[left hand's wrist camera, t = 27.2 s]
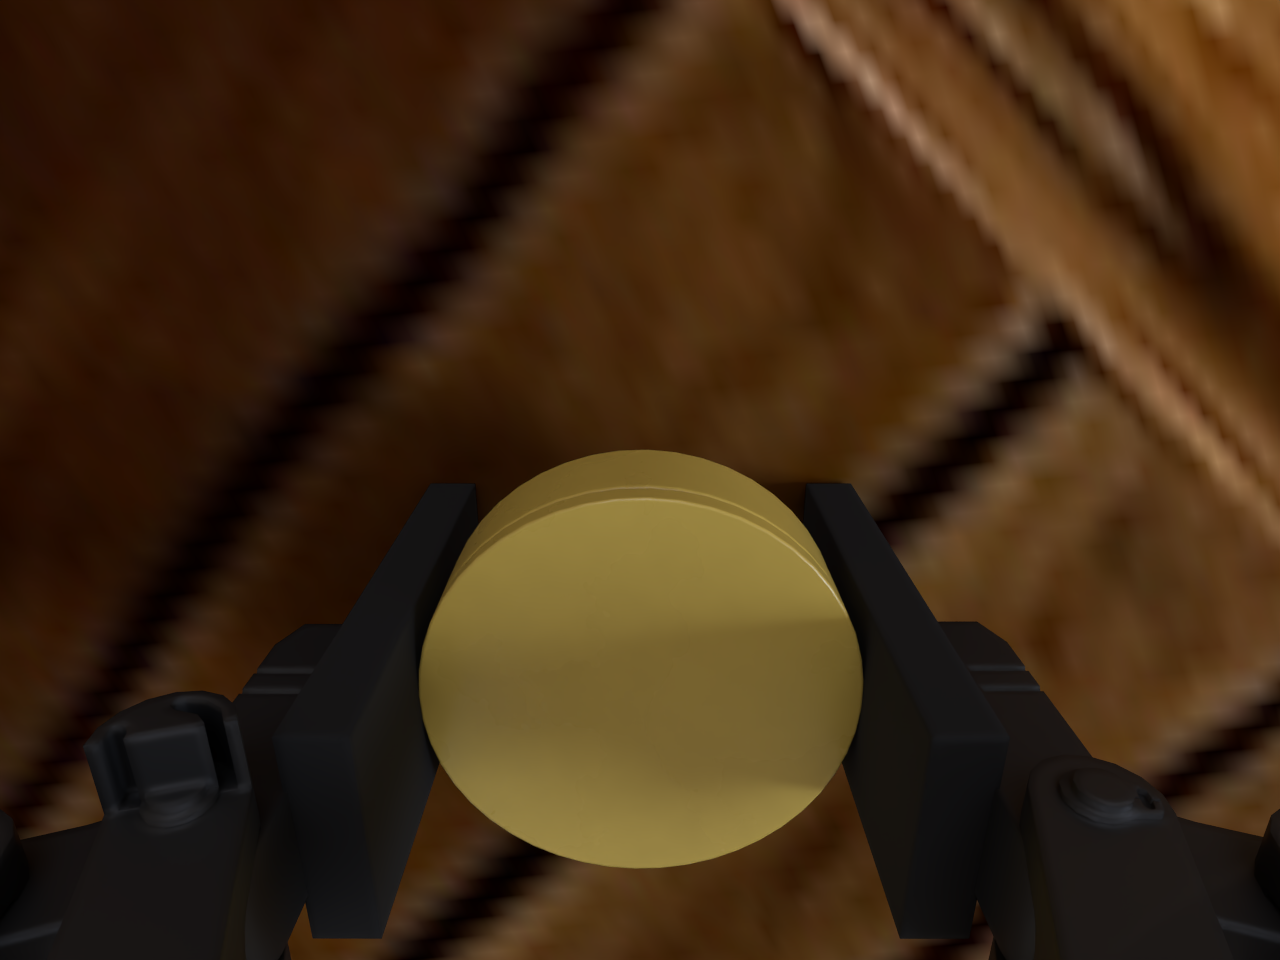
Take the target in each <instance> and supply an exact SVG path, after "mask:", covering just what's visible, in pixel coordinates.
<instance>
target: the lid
mask: <svg viewBox="0 0 1280 960" xmlns="http://www.w3.org/2000/svg"><path fill="white" fill-rule="evenodd" d="M863 684H864V679H863V666H862V656H861V652H860V648H859V644H858V640H857V636H856V632H855V630H854V627H853V625H852V623H851V620H850V618H849V615H848V613H847V611H846V608H845V606H844V604H843V601H842V599H841V597H840V595H839V592H838V590H837V588H836V586H835V583H834V581H833V579H832V577H831V574H830V572H829V570H828V568H827V565H826V563H825V561H824V559H823V556H822V554H821V552H820V550H819V548H818V547H817V545H816V543H815V542H814V540H813V538H812V537H811V535H810V533H809V532H808V530H807V529H806V528H805V526H804V525H803V524H802V523H801V522H800V520H799V519H798V518H797V517H796V516H795V514H794V513H793V512H792V511H791V510H790V509H789V508H788V507H787V506H786V505H785V504H783V503H782V502H781V501H780V500H779V499H778V498H777V497H776V496H775V495H774V494H772V493H771V492H769V491H768V490H766V489H765V488H763V487H762V486H761V485H759V484H758V483H756V482H755V481H753V480H752V479H750V478H748V477H746V476H744V475H742V474H740V473H738V472H736V471H734V470H732V469H730V468H728V467H726V466H723V465H720V464H717V463H714V462H711V461H709V460H706V459H703V458H699V457H694V456H690V455H685V454H681V453H676V452H666V451H655V450H627V451H615V452H608V453H602V454H596V455H591V456H587V457H584V458H580V459H577V460H573V461H570V462H566V463H564V464H562V465H559V466H557V467H555V468H552V469H550V470H548V471H545V472H543V473H541V474H539V475H538V476H536V477H534V478H532V479H531V480H529V481H527V482H526V483H524V484H522V485H521V486H519V487H518V488H516V489H515V490H514V491H513V492H511V493H510V494H509V495H508V496H506V497H505V498H504V499H503V500H501V501H500V502H499V503H498V504H497V505H496V506H495V507H494V508H493V509H492V510H491V511H490V512H489V513H488V514H487V515H486V517H485V518H484V519H483V520H482V521H481V522H480V523H479V525H478V526H477V528H476V529H475V531H474V532H473V533H472V535H471V536H470V538H469V539H468V540H467V542H466V544H465V546H464V548H463V550H462V552H461V554H460V556H459V558H458V560H457V562H456V565H455V567H454V569H453V571H452V574H451V576H450V578H449V580H448V583H447V585H446V587H445V590H444V592H443V594H442V596H441V599H440V601H439V603H438V605H437V608H436V610H435V612H434V615H433V617H432V619H431V621H430V624H429V627H428V630H427V634H426V637H425V640H424V643H423V646H422V652H421V659H420V665H419V699H420V705H421V712H422V718H423V722H424V725H425V728H426V731H427V734H428V737H429V740H430V743H431V745H432V747H433V749H434V751H435V753H436V755H437V757H438V759H439V761H440V763H441V765H442V767H443V768H444V770H445V771H446V773H447V774H448V776H449V777H450V778H451V780H452V781H453V783H454V784H455V786H456V787H457V788H458V789H459V790H460V791H461V792H462V793H463V794H464V796H465V797H466V798H467V799H468V800H469V801H470V802H471V803H472V804H473V805H474V806H475V807H476V808H477V809H479V810H480V811H481V812H482V813H483V814H484V815H485V816H487V817H488V818H489V819H490V820H492V821H493V822H495V823H496V824H497V825H499V826H500V827H502V828H503V829H505V830H506V831H508V832H509V833H511V834H513V835H514V836H516V837H518V838H520V839H522V840H524V841H526V842H528V843H530V844H532V845H533V846H536V847H538V848H541V849H543V850H546V851H549V852H551V853H554V854H556V855H559V856H563V857H566V858H570V859H573V860H577V861H581V862H585V863H591V864H597V865H602V866H608V867H621V868H663V867H671V866H679V865H687V864H691V863H696V862H700V861H705V860H709V859H713V858H716V857H719V856H722V855H725V854H728V853H731V852H734V851H737V850H739V849H741V848H743V847H745V846H748V845H750V844H752V843H754V842H756V841H758V840H761V839H762V838H764V837H765V836H767V835H769V834H770V833H772V832H774V831H775V830H777V829H779V828H780V827H782V826H783V825H785V824H786V823H787V822H789V821H790V820H791V819H792V818H794V817H795V816H796V815H798V814H799V813H800V812H801V811H803V810H804V809H805V808H806V807H807V806H808V805H809V804H810V803H811V802H812V801H813V800H814V799H815V798H816V797H817V796H818V795H819V794H820V793H821V791H822V790H823V789H824V787H825V786H826V785H827V784H828V782H829V781H830V780H831V778H832V777H833V776H834V775H835V773H836V771H837V769H838V768H839V766H840V764H841V763H842V761H843V759H844V757H845V756H846V754H847V752H848V749H849V747H850V744H851V742H852V739H853V737H854V734H855V732H856V729H857V724H858V720H859V716H860V712H861V705H862V695H863Z"/></svg>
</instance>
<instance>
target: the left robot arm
mask: <svg viewBox="0 0 1280 960" xmlns="http://www.w3.org/2000/svg"><path fill="white" fill-rule="evenodd" d="M803 525H804V526H805V528H806V529H807V530H808V532H809V533H810V535H811V537H812V538H813V540H814V542H815V543H816V545H817V547H818V548H819V550H820V552H821V554H822V556H823V559H824V561H825V563H826V565H827V568H828V570H829V572H830V574H831V577H832V579H833V581H834V583H835V586H836V588H837V590H838V592H839V595H840V597H841V599H842V601H843V604H844V606H845V608H846V611H847V613H848V615H849V618H850V620H851V623H852V625H853V627H854V630H855V632H856V636H857V640H858V644H859V648H860V652H861V656H862V666H863V679H864V684H863V695H862V705H861V712H860V716H859V720H858V724H857V729H856V732H855V734H854V737H853V739H852V742H851V744H850V747H849V749H848V752H847V754H846V756H845V757H844V759H843V761H842V764H843V767H844V770H845V773H846V776H847V779H848V782H849V785H850V788H851V791H852V794H853V798H854V801H855V804H856V807H857V810H858V813H859V816H860V819H861V822H862V825H863V828H864V831H865V834H866V837H867V840H868V843H869V846H870V849H871V852H872V855H873V858H874V861H875V864H876V867H877V870H878V873H879V876H880V879H881V882H882V885H883V888H884V891H885V894H886V897H887V900H888V903H889V907H890V910H891V913H892V916H893V919H894V922H895V925H896V928H897V931H898V934H899V937H900V939H964V938H969V936H970V931H971V926H972V921H973V916H974V911H975V906H976V901H977V900H978V902H979V905H980V907H981V909H982V911H983V914H984V916H985V918H986V920H987V923H988V925H989V927H990V929H991V931H992V934H993V936H994V938H993V942H992V947H991V951H990V956H989V960H1280V809H1279V810H1278V811H1276V812H1275V813H1274V814H1272V815H1271V817H1270V820H1269V823H1268V826H1267V828H1266V831H1265V834H1264V837H1260V836H1256V835H1251V834H1247V833H1242V832H1238V831H1233V830H1229V829H1224V828H1220V827H1215V826H1211V825H1206V824H1202V823H1197V822H1194V821H1190V820H1187V819H1183V818H1180V817H1177V816H1176V814H1175V812H1174V811H1173V809H1172V808H1171V806H1170V805H1169V803H1168V802H1167V800H1166V799H1165V797H1164V796H1163V794H1161V793H1160V792H1159V791H1158V790H1156V789H1155V788H1154V787H1153V786H1151V785H1150V784H1149V783H1148V782H1147V781H1145V780H1144V779H1143V778H1142V777H1140V776H1138V775H1136V774H1134V773H1132V772H1130V771H1128V770H1126V769H1124V768H1122V767H1120V766H1118V765H1116V764H1114V763H1110V762H1107V761H1103V760H1100V759H1096V758H1093V757H1092V756H1091V755H1090V753H1089V752H1088V751H1087V749H1086V748H1085V747H1084V745H1083V744H1082V743H1081V741H1080V740H1079V739H1078V737H1077V736H1076V734H1075V733H1074V732H1073V730H1072V729H1071V728H1070V726H1069V725H1068V724H1067V722H1066V721H1065V720H1064V718H1063V717H1062V716H1061V714H1060V713H1059V712H1058V710H1057V709H1056V708H1055V706H1054V705H1053V704H1052V702H1051V701H1050V699H1049V698H1048V697H1047V695H1046V694H1045V693H1044V691H1040V686H1039V685H1038V683H1037V682H1036V681H1035V679H1034V678H1033V677H1032V675H1031V674H1030V673H1029V671H1025V666H1024V664H1023V663H1022V662H1021V660H1020V659H1019V658H1018V656H1017V655H1016V654H1015V652H1014V651H1013V650H1012V648H1011V647H1010V646H1009V644H1008V643H1007V642H1006V641H1004V640H1003V639H1002V638H1000V637H999V636H997V635H996V634H994V633H993V632H991V631H990V630H988V629H987V628H985V627H984V626H983V625H981V624H980V623H978V622H937V620H936V619H935V617H934V615H933V614H932V612H931V611H930V609H929V607H928V606H927V604H926V603H925V601H924V599H923V598H922V596H921V595H920V593H919V591H918V590H917V588H916V587H915V585H914V584H913V582H912V580H911V579H910V577H909V576H908V574H907V572H906V571H905V569H904V568H903V566H902V564H901V563H900V561H899V560H898V558H897V556H896V555H895V553H894V552H893V550H892V549H891V547H890V545H889V544H888V542H887V541H886V539H885V537H884V536H883V534H882V533H881V531H880V529H879V528H878V526H877V525H876V523H875V521H874V520H873V518H872V517H871V515H870V513H869V512H868V510H867V509H866V507H865V506H864V504H863V502H862V501H861V499H860V498H859V496H858V494H857V493H856V491H855V490H854V488H853V486H852V485H851V484H806V496H805V508H804V520H803ZM477 526H478V515H477V502H476V490H475V484H430V486H429V487H428V489H427V490H426V492H425V494H424V495H423V497H422V498H421V500H420V502H419V503H418V505H417V506H416V508H415V510H414V511H413V513H412V514H411V516H410V517H409V519H408V521H407V522H406V524H405V525H404V527H403V529H402V530H401V532H400V533H399V535H398V537H397V538H396V540H395V541H394V543H393V545H392V546H391V548H390V549H389V551H388V553H387V554H386V556H385V557H384V559H383V561H382V562H381V564H380V565H379V567H378V569H377V570H376V572H375V573H374V575H373V577H372V578H371V580H370V581H369V583H368V584H367V586H366V588H365V589H364V591H363V592H362V594H361V596H360V597H359V599H358V600H357V602H356V604H355V605H354V607H353V608H352V610H351V612H350V613H349V615H348V616H347V618H346V620H345V621H344V623H343V624H305V625H303V626H302V627H300V628H299V629H297V630H296V631H294V632H293V633H292V634H290V635H289V636H287V637H286V638H284V639H283V640H281V641H280V642H278V643H277V644H276V645H275V646H274V647H273V648H272V650H271V651H270V652H269V654H268V655H267V657H266V658H265V659H264V661H263V662H262V663H261V665H260V666H259V667H258V669H257V670H258V671H257V674H253V676H252V677H251V678H250V680H249V681H248V682H247V684H246V685H245V686H244V688H243V693H242V694H239V695H238V696H237V697H236V699H235V700H234V701H233V703H232V702H231V701H229V700H228V699H227V698H226V697H225V696H223V695H220V694H215V693H210V692H206V691H189V692H175V693H171V694H167V695H163V696H159V697H156V698H152V699H148V700H145V701H143V702H141V703H139V704H137V705H134V706H132V707H130V708H128V709H125V710H123V711H121V712H119V713H118V714H116V715H115V716H114V717H112V718H111V719H109V720H108V721H107V722H105V723H104V724H102V725H101V726H100V727H98V728H97V729H96V730H95V732H94V733H93V734H92V735H91V737H90V738H89V739H88V741H87V742H86V743H85V744H84V746H83V747H84V750H85V753H86V757H87V760H88V763H89V766H90V770H91V773H92V776H93V779H94V782H95V786H96V789H97V792H98V795H99V799H100V802H101V805H102V808H103V811H104V817H103V820H102V821H99V822H96V823H93V824H89V825H85V826H81V827H76V828H72V829H67V830H63V831H59V832H54V833H50V834H45V835H41V836H36V837H32V838H27V839H23V840H20V838H19V836H18V833H17V830H16V827H15V825H14V822H13V819H12V818H11V817H10V816H8V815H7V814H6V813H4V812H3V811H2V810H1V809H0V960H291V957H290V951H289V947H288V939H289V937H290V935H291V933H292V931H293V928H294V926H295V924H296V922H297V919H298V917H299V915H300V913H301V910H302V908H303V906H304V904H305V903H306V907H307V912H308V917H309V922H310V927H311V932H312V937H313V938H379V939H382V936H383V933H384V930H385V927H386V923H387V920H388V917H389V914H390V911H391V908H392V905H393V902H394V899H395V896H396V893H397V890H398V887H399V884H400V881H401V878H402V875H403V872H404V869H405V866H406V863H407V860H408V857H409V854H410V851H411V848H412V845H413V842H414V839H415V835H416V832H417V829H418V826H419V823H420V820H421V817H422V814H423V811H424V808H425V805H426V802H427V799H428V796H429V793H430V790H431V787H432V784H433V781H434V778H435V775H436V772H437V769H438V766H439V763H440V761H439V759H438V757H437V755H436V753H435V751H434V749H433V747H432V745H431V743H430V740H429V737H428V734H427V731H426V728H425V725H424V722H423V718H422V712H421V705H420V699H419V665H420V659H421V652H422V646H423V643H424V640H425V637H426V634H427V630H428V627H429V624H430V621H431V619H432V617H433V615H434V612H435V610H436V608H437V605H438V603H439V601H440V599H441V596H442V594H443V592H444V590H445V587H446V585H447V583H448V580H449V578H450V576H451V574H452V571H453V569H454V567H455V565H456V562H457V560H458V558H459V556H460V554H461V552H462V550H463V548H464V546H465V544H466V542H467V540H468V539H469V538H470V536H471V535H472V533H473V532H474V531H475V529H476V528H477Z"/></svg>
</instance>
